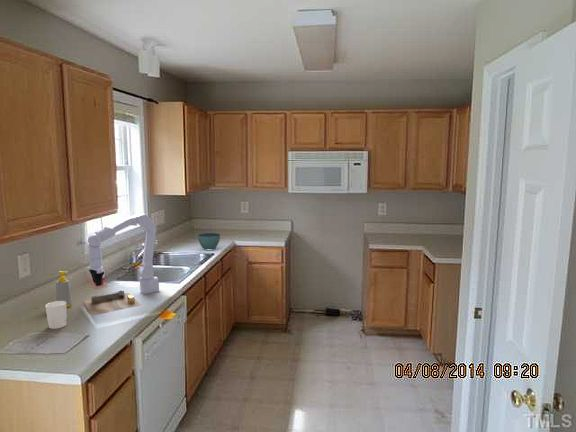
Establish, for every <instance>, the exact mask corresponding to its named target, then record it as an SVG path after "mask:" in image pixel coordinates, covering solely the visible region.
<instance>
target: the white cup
mask: <svg viewBox="0 0 576 432" xmlns="http://www.w3.org/2000/svg"><path fill="white" fill-rule="evenodd" d="M44 306H45V313H46V317H47V318H46V319H47V322H48V323H47V324H48V328H49V329H51V330H53V329H54V330H55V329H56V330H57V329H61V328H63V327H65V326H66V325H67V318H68V317H67V308H66V302H65V301H50V302H48V303H46V304H45V305H44Z"/></svg>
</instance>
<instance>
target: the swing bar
mask: <svg viewBox="0 0 576 432" xmlns="http://www.w3.org/2000/svg"><path fill="white" fill-rule="evenodd" d="M124 293H125V291H124V290H119V291H116V292H115V291H114V292H109V293H104V294H99V295H92V296H91V297H90V300H91V302H92V303H94V302H99V301H104V300H109V299H115V298H122V297H124V296H125V295H124Z"/></svg>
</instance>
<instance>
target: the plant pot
mask: <svg viewBox="0 0 576 432" xmlns="http://www.w3.org/2000/svg"><path fill="white" fill-rule="evenodd" d="M197 238H198V243H199V245H200V247H201V248H202V249H203V248H204V249H214V248H215V249H216V248H217V246H218V245H219V243H220V240H221V234H220V233H216V232H215V233H214V232H204V233H199V234H197ZM204 249H203V250H204ZM215 249H214V250H215Z"/></svg>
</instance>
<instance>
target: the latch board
mask: <svg viewBox="0 0 576 432" xmlns="http://www.w3.org/2000/svg"><path fill="white" fill-rule="evenodd" d="M124 295H125V296H124V297H122V298H115V299H109V300H104V301H99V302H94V303H92V302H91V299H88V300H82V302H83V303H84V306H86V308H87V309H88V312H89V313H90V314H91V315H92V316H96V315H102V314H105V313H110V312H116V311H120V310H126V309H130V308H131V309H132V308H134V307H135V308H136V307H140V306H142V304H141V303H140V302H139V301H137V299H135V303H129V302H128V299H127V296H130V295H131V294H130V293H129V292H126V293H125V292H124Z"/></svg>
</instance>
